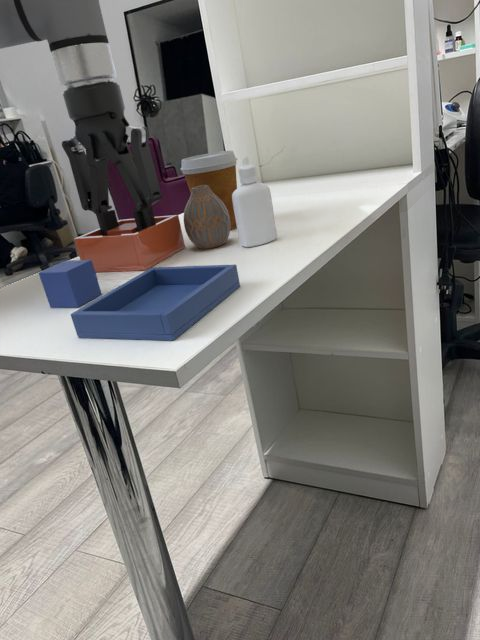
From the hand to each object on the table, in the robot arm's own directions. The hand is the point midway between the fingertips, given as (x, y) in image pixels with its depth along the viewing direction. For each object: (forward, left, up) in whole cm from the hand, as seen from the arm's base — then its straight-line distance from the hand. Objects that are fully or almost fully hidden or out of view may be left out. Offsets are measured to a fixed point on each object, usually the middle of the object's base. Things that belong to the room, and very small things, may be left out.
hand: (134, 253), depth 82 cm
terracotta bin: (0, 0, -1) cm, 1 cm away
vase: (+10, +6, -1) cm, 12 cm away
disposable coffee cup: (+6, +17, -1) cm, 18 cm away
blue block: (+3, -17, -1) cm, 17 cm away
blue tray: (+18, -20, -1) cm, 27 cm away
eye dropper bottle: (+18, +6, -1) cm, 19 cm away
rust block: (0, 0, 0) cm, 0 cm away
